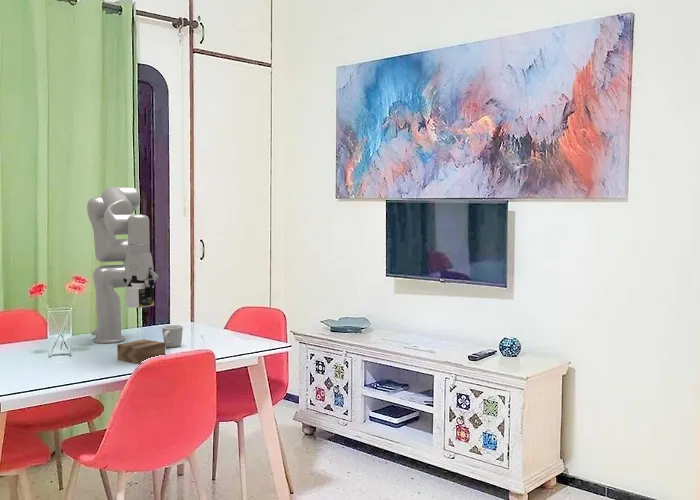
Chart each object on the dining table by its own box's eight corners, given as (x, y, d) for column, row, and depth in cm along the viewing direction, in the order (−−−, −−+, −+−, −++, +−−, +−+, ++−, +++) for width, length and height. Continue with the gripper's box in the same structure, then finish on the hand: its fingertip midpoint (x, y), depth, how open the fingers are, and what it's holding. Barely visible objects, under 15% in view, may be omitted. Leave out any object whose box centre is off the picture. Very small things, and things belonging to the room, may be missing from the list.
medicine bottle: (139, 308, 251) (138, 274, 250) (125, 306, 255) (124, 273, 254) (154, 305, 257) (153, 273, 256) (141, 304, 261) (140, 272, 260)
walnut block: (117, 360, 256) (117, 344, 255) (144, 354, 265) (144, 339, 265) (138, 364, 249) (138, 348, 248) (165, 358, 259) (165, 342, 258)
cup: (174, 350, 273) (174, 329, 272) (155, 349, 274) (155, 329, 274) (186, 344, 283) (186, 325, 283) (168, 344, 285) (167, 324, 284)
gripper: (113, 249, 255) (114, 297, 256) (151, 250, 248) (152, 299, 249) (127, 247, 261) (128, 294, 263) (164, 248, 254) (165, 297, 255)
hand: (140, 296), depth 256 cm, fingers closed on medicine bottle, 7 cm apart
